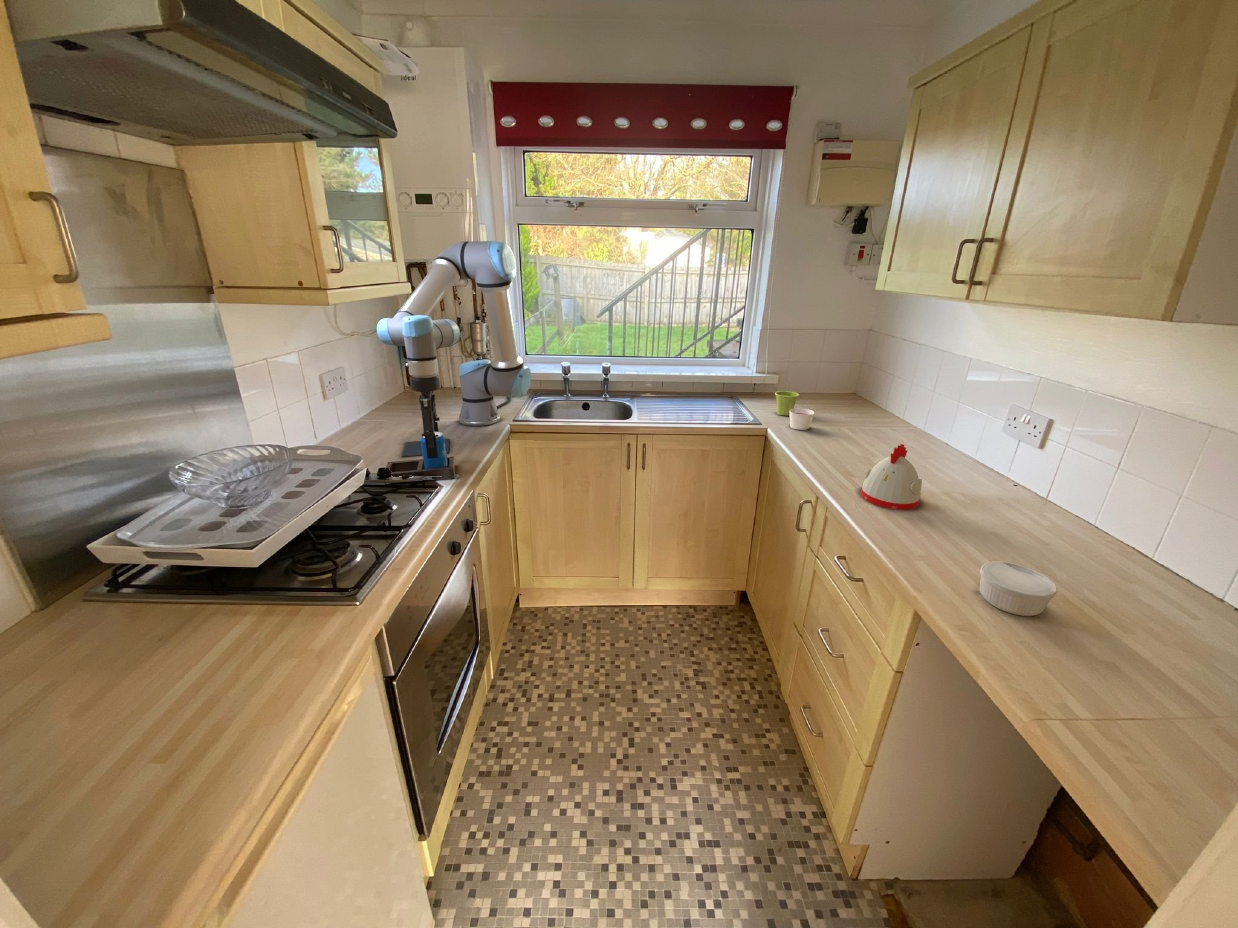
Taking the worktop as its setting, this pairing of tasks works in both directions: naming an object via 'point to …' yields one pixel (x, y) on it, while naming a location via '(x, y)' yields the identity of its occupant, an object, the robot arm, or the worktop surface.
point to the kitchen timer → (893, 482)
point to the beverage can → (442, 455)
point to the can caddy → (421, 469)
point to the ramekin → (1015, 588)
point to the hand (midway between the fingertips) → (434, 450)
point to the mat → (418, 448)
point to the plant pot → (785, 401)
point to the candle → (800, 418)
